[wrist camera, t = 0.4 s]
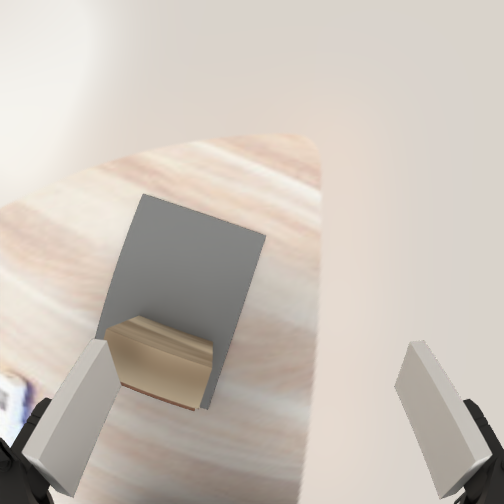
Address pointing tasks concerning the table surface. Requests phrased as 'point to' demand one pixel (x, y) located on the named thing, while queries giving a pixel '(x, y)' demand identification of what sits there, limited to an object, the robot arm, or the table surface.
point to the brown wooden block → (161, 361)
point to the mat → (183, 276)
